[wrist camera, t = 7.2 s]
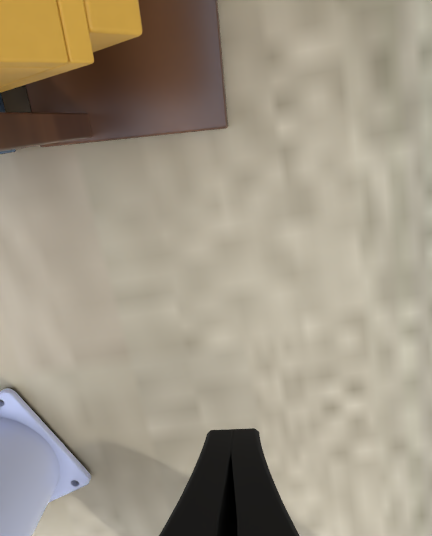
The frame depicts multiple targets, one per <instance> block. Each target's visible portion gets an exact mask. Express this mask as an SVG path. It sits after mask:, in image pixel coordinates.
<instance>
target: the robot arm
mask: <svg viewBox="0 0 432 536" xmlns="http://www.w3.org/2000/svg"><path fill="white" fill-rule="evenodd" d="M0 399H1V400H3V401H4V402H2V401H1V400H0V536H32V535H33V533H34V531H35V529H36V527H37V525H38V523H39V521H40V518H41V516H42V514H43V512H44V510H45V508H46V506H47V504H48V502H51V501H53V500H55V499H57V498H59V497H62V496H64V495H66V494H68V493H70V492H73V491H75V490H77V489H79V488H81V487H83V486H86V485H87V484H89V481H90V479H91V475H90V473H89V472H88V471H87V470H86V469H85V468H84V466H83V465H82V464H81V463H80V462H79V461H78V460H77V459H76V458H75V457H74V455H73V454H72V453H71V452H70V451H69V450H68V449H67V448H66V447H65V446H64V444H63V443H62V442H61V441H60V440H59V439H58V438H57V437H56V436H55V435H54V433H53V432H52V431H51V430H50V429H49V428H48V427H47V426H46V425H45V424H44V422H43V421H42V420H41V419H40V418H39V417H38V416H37V415H36V414H35V413H34V411H33V410H32V409H31V408H30V407H29V406H28V405H27V404H26V403H25V402H24V400H23V399H22V398H21V397H20V396H19V395H18V394H17V393H16V392H15V391H14V390H12V389H9V388H6V389H3V390H1V391H0ZM75 480H76V481H75ZM159 536H299V534H298V532H297V530H296V528H295V526H294V524H293V522H292V520H291V518H290V516H289V514H288V512H287V510H286V508H285V506H284V504H283V502H282V500H281V498H280V495H279V493H278V491H277V488H276V486H275V484H274V481H273V479H272V476H271V474H270V471H269V469H268V466H267V463H266V460H265V457H264V454H263V450H262V446H261V442H260V437H259V431H257V430H256V429H231V430H211V431H210V432H209V433H208V434H207V437H206V440H205V443H204V446H203V449H202V451H201V454H200V456H199V459H198V461H197V463H196V466H195V468H194V470H193V473H192V475H191V477H190V479H189V481H188V483H187V485H186V487H185V489H184V491H183V494H182V496H181V497H180V499H179V501H178V503H177V505H176V507H175V509H174V510H173V512H172V514H171V516H170V518H169V519H168V521H167V523H166V525H165V527H164V528H163V530H162V532H161V533H160V535H159Z"/></svg>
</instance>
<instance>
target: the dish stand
mask: <svg viewBox="0 0 432 536" xmlns="http://www.w3.org/2000/svg"><path fill="white" fill-rule="evenodd" d="M138 2H139V9H140V16H141V23H142V34H141V35H140V36H138V37H135V38H133V39H130V40H127V41H124V42H121V43H118V44H115V45H113V46H110V47H107V48H104V49H101V50H98V51H95V52H93V56H94V63H92V64H90V65H86V66H83V67H80V68H77V69H74V70H70V71H67V72H64V73H61V74H58V75H55V76H51V77H48V78H45V79H42V80H39V81H36V82H32V83H29V84H26V85H25V86H26V91H27V95H28V99H29V103H30V107H31V112H0V151H6V150H13V149H19V148H26V147H32V146H39V145H40V147H49V146H59V145H69V144H78V143H88V142H98V141H107V140H117V139H127V138H136V137H146V136H156V135H165V134H175V133H185V132H195V131H204V130H214V129H224V128H227V127H228V120H227V108H226V96H225V84H224V72H223V60H222V49H221V37H220V25H219V13H218V1H217V0H138Z"/></svg>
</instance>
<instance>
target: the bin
mask: <svg viewBox="0 0 432 536" xmlns="http://www.w3.org/2000/svg"><path fill="white" fill-rule="evenodd" d="M0 112H5V108H4V104H3V100H2V96H1V93H0ZM15 151H16V150H15V149H13V150H6V151H0V154H4V153H9V152H15Z"/></svg>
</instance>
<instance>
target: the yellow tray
mask: <svg viewBox="0 0 432 536" xmlns="http://www.w3.org/2000/svg"><path fill="white" fill-rule="evenodd" d="M141 34H142V23H141V16H140V9H139V2H138V0H0V93H1V92H4V91H7V90H10V89H13V88H17V87H20V86H23V85H26V84H29V83H32V82H36V81H39V80H42V79H45V78H48V77H51V76H55V75H58V74H61V73H64V72H67V71H70V70H74V69H77V68H80V67H83V66H86V65H90V64H92V63H94V56H93V52H95V51H98V50H101V49H104V48H107V47H110V46H113V45H115V44H118V43H121V42H124V41H127V40H130V39H133V38H135V37H138V36H140V35H141Z"/></svg>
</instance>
